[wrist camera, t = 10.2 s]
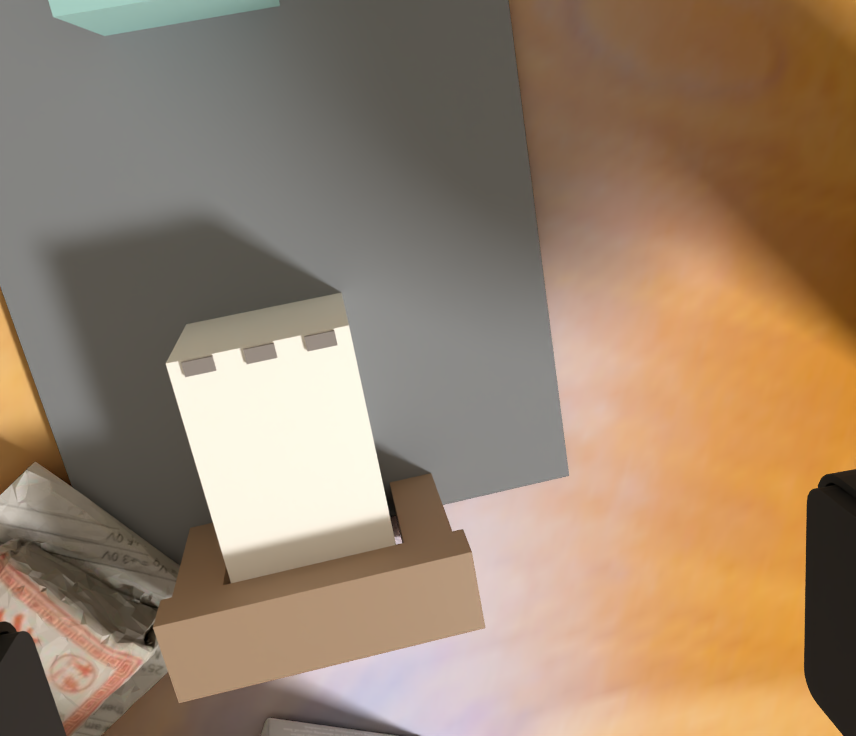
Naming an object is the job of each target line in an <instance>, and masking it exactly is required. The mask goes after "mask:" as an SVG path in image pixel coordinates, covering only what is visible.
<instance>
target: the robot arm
mask: <svg viewBox="0 0 856 736" xmlns="http://www.w3.org/2000/svg"><path fill="white" fill-rule="evenodd" d="M804 672H805V678H806V682H807V685H808V688H809V691H810V693H811V695H812V697H813V698H814V700H815V701H816V703H817V704H818V705H819V706H820V708H821V709H822V710H823V711H824V713H825V714H826V715H827V716H828V717H829V719H830V720H831V721H832V722H833V724H834V725H835V726H836V727H837V728H838V730H839V731H840V732H841V733H842V735H843V736H856V469H854V470H849V471H843V472H837V473H832V474H826V475H825V476H823V477H822V478H821V480H820V482H819V484H818V488H816V489H813V490H811V491H810V492H809V495H808V498H807V527H806V587H805V648H804ZM0 736H67V735H66V733H65V730H64V727H63V724H62V721H61V718H60V715H59V712H58V709H57V706H56V703H55V701H54V698H53V695H52V692H51V689H50V686H49V683H48V680H47V677H46V674H45V672H44V669H43V666H42V663H41V660H40V657H39V654H38V651H37V648H36V645H35V643H34V640H33V638H32V636H31V635H30V634H29V633H28V632H26V631H20V632H17V631H16V628H15V627H14V626H13V625H12V624H11V623H9V622H6V621H3V622H0Z"/></svg>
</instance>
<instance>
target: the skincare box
mask: <svg viewBox="0 0 856 736" xmlns="http://www.w3.org/2000/svg"><path fill="white" fill-rule="evenodd" d="M261 736H397V735H390V734H382V733H375V732H368V731H361V730H353V729H346V728H339V727H332V726H325V725H318V724H310V723H303V722H296V721H289V720H282V719H275V718H268V719H267V720H266V722H265V724H264V727H263V730H262V733H261Z"/></svg>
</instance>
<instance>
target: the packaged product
mask: <svg viewBox="0 0 856 736" xmlns="http://www.w3.org/2000/svg"><path fill="white" fill-rule="evenodd" d="M179 569H180V565H179V564H177V563H176V562H174V561H173V560H172V559H170V558H169V557H167V556H166V555H164V554H163V553H162V552H160V551H159V550H158V549H156V548H155V547H153V546H152V545H151V544H149V543H148V542H147V541H145V540H144V539H143V538H141V537H140V536H138V535H137V534H136V533H134V532H133V531H132V530H130V529H129V528H128V527H126V526H125V525H123V524H122V523H121V522H119V521H118V520H117V519H115V518H114V517H113V516H111V515H110V514H108V513H107V512H106V511H104V510H103V509H102V508H100V507H99V506H98V505H96V504H95V503H94V502H92V501H91V500H89V499H88V498H87V497H85V496H84V495H83V494H81V493H80V492H78V491H77V490H75V489H74V488H73V487H71V486H70V485H68V484H67V483H65V482H64V481H63V480H61V479H60V478H58V477H57V476H55V475H54V474H53V473H51V472H50V471H48V470H47V469H45V468H44V467H43V466H41V465H40V464H38V463H37V462H34V463H33V464H32V465H31V466H30V467H29V468H28V469H27V470H26V471H24V472H23V473H22V474H21V475H20V476H19V477H18V478H17V479H16V480H15V481H14V482H13V483H12V484H11V485H10V486H9V487H8V488H7V489H6V490H5V491H4V492H3V493H2V494H1V495H0V622H3V621H6V622H9V623H11V624H12V625H13V626H14V627H15V628H16V631H17V632H20V631H26V632H28V633H29V634H30V635H31V636H32V638H33V640H34V643H35V645H36V648H37V651H38V654H39V657H40V660H41V663H42V666H43V669H44V672H45V674H46V677H47V680H48V683H49V686H50V689H51V692H52V695H53V698H54V701H55V703H56V706H57V709H58V712H59V715H60V718H61V721H62V724H63V727H64V730H65V733H66V735H67V736H101V735H102V734H103V733H104V732H105V731H106V730H107V729H108V728H109V727H110V726H111V725H112V724H113V723H114V722H116V721H117V720H118V719H119V718H120V717H121V716H122V715H123V714H124V713H125V712H126V711H127V710H128V709H129V708H130V707H131V706H132V704H133V703H135V702H136V701H137V700H138V699H139V698H141V697H142V696H143V695H144V694H145V693H147V692H148V691H149V690H150V689H151V688H152V687H153V686H154V685H155V684H156V683H157V682H158V681H159V680H160V679H161V678H162V677H163V676H164V675H165V674H166V673H167V672H168V670H167V667H166V664H165V661H164V659H163V656H162V653H161V650H160V647H159V644H158V641H157V638H156V635H155V632H154V629H153V625H154V622H155V618H156V615H157V611H158V608H159V604H160V600H163V599H167V598H171V597H172V595H173V592H174V588H175V584H176V580H177V576H178V572H179Z"/></svg>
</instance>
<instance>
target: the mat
mask: <svg viewBox="0 0 856 736" xmlns="http://www.w3.org/2000/svg"><path fill="white" fill-rule="evenodd" d="M279 3H280V6H276V7H271V8H265V9H259V10H253V11H247V12H241V13H236V14H230V15H224V16H218V17H212V18H206V19H201V20H195V21H189V22H183V23H177V24H172V25H166V26H160V27H154V28H148V29H142V30H137V31H131V32H125V33H119V34H113V35H108V36H103V35H100V34H98V33H95V32H92V31H90V30H87V29H84V28H81V27H79V26H76V25H73V24H71V23H68V22H65V21H63V20H60V19H57V18H55V17H53V15H52V11H51V8H50V5H49V1H48V0H0V287H1V290H2V293H3V295H4V298H5V301H6V304H7V306H8V309H9V312H10V315H11V318H12V320H13V323H14V326H15V329H16V332H17V334H18V337H19V340H20V343H21V346H22V348H23V351H24V354H25V357H26V360H27V362H28V365H29V368H30V371H31V374H32V376H33V379H34V382H35V385H36V387H37V390H38V393H39V396H40V399H41V401H42V404H43V407H44V410H45V413H46V415H47V418H48V421H49V424H50V427H51V429H52V432H53V435H54V438H55V441H56V443H57V446H58V449H59V452H60V454H61V457H62V460H63V463H64V466H65V468H66V471H67V474H68V477H69V480H70V482H71V485H72V487H73V488H74V489H75V490H77V491H78V492H80V493H81V494H83V495H84V496H85V497H87V498H88V499H89V500H91V501H92V502H94V503H95V504H96V505H98V506H99V507H100V508H102V509H103V510H104V511H106V512H107V513H108V514H110V515H111V516H113V517H114V518H115V519H117V520H118V521H119V522H121V523H122V524H123V525H125V526H126V527H128V528H129V529H130V530H132V531H133V532H134V533H136V534H137V535H138V536H140V537H141V538H143V539H144V540H145V541H147V542H148V543H149V544H151V545H152V546H153V547H155V548H156V549H158V550H159V551H160V552H162V553H163V554H164V555H166V556H167V557H169V558H170V559H172V560H173V561H174V562H176V563H177V564H179V565H181V561H182V557H183V553H184V550H185V546H186V542H187V538H188V534H189V530H190V528H192V527H196V526H200V525H205V524H209V523H213V521H212V518H211V514H210V511H209V507H208V504H207V501H206V497H205V494H204V491H203V487H202V484H201V481H200V477H199V474H198V471H197V467H196V464H195V460H194V457H193V454H192V450H191V447H190V444H189V440H188V437H187V434H186V430H185V427H184V424H183V420H182V417H181V413H180V410H179V407H178V403H177V400H176V397H175V393H174V390H173V387H172V383H171V380H170V377H169V373H168V370H167V366H166V362H167V360H168V358H169V356H170V354H171V352H172V351H173V349H174V347H175V345H176V343H177V341H178V339H179V337H180V335H181V333H182V332H183V330H184V328H185V326H186V324H190V323H195V322H200V321H205V320H210V319H215V318H220V317H224V316H229V315H234V314H239V313H244V312H249V311H254V310H259V309H263V308H268V307H273V306H278V305H283V304H288V303H293V302H298V301H303V300H307V299H312V298H317V297H322V296H327V295H332V294H337V293H342V297H343V301H344V306H345V310H346V315H347V319H348V323H349V328H350V333H351V337H352V342H353V347H354V351H355V356H356V361H357V365H358V370H359V375H360V379H361V384H362V389H363V393H364V398H365V403H366V407H367V412H368V417H369V421H370V426H371V431H372V435H373V440H374V445H375V449H376V454H377V459H378V463H379V468H380V473H381V477H382V482H383V487H384V491H385V496H386V501H387V505H388V510H389V515H390V517H393V516H397V515H396V511H395V506H394V501H393V497H392V492H391V487H390V482H394V481H399V480H403V479H408V478H412V477H416V476H421V475H425V474H430V473H431V474H432V477H433V480H434V482H435V485H436V488H437V491H438V493H439V496H440V499H441V502H442V505H445V504H449V503H453V502H458V501H462V500H466V499H471V498H475V497H479V496H484V495H488V494H492V493H497V492H501V491H505V490H510V489H514V488H518V487H523V486H527V485H531V484H536V483H540V482H544V481H549V480H553V479H557V478H562V477H566V476H569V471H568V463H567V456H566V448H565V440H564V432H563V424H562V416H561V409H560V401H559V393H558V385H557V377H556V369H555V362H554V354H553V346H552V338H551V330H550V322H549V315H548V307H547V299H546V291H545V283H544V275H543V268H542V260H541V252H540V244H539V236H538V228H537V221H536V213H535V205H534V197H533V189H532V181H531V174H530V166H529V158H528V150H527V142H526V135H525V127H524V119H523V111H522V103H521V95H520V88H519V80H518V72H517V64H516V56H515V48H514V41H513V33H512V25H511V17H510V9H509V1H508V0H279Z"/></svg>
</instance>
